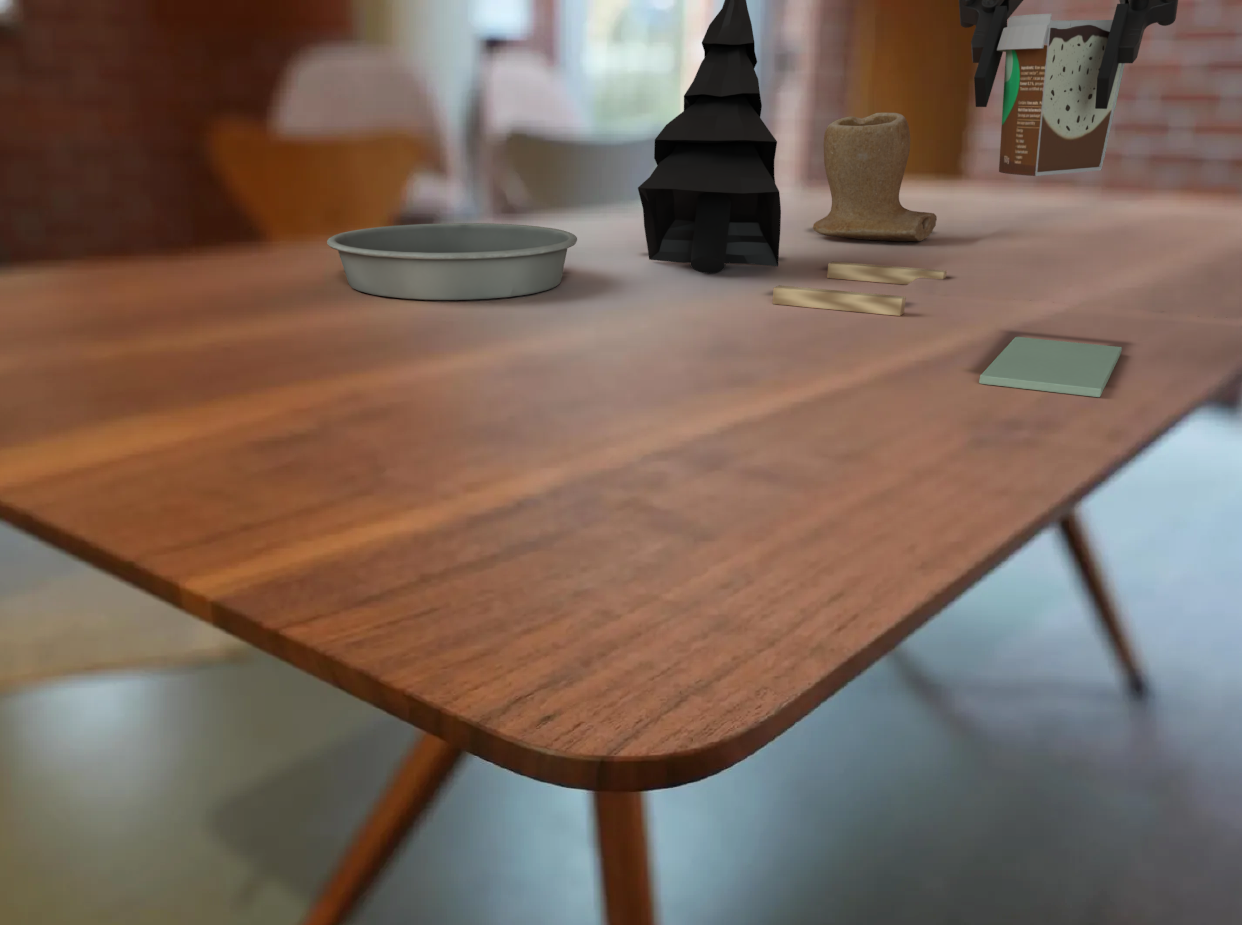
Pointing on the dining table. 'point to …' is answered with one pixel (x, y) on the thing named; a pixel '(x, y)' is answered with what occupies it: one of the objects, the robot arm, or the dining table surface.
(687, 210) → the decorative tree
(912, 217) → the stone cup
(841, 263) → the rack
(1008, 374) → the mat
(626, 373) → the dining table surface
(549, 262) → the cake pan
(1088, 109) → the food container
